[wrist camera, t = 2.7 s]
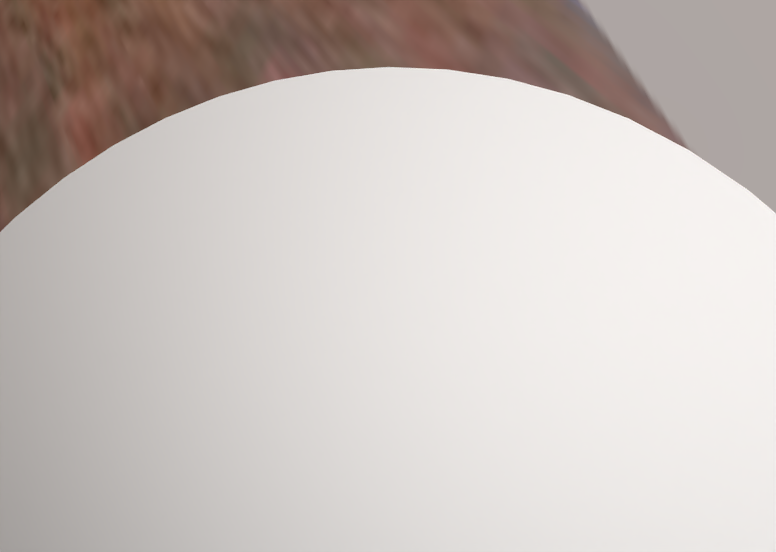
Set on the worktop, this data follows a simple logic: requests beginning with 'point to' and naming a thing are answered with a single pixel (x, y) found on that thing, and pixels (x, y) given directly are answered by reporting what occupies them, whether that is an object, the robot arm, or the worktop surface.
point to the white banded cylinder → (390, 332)
